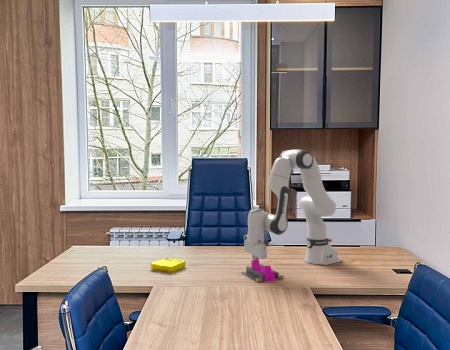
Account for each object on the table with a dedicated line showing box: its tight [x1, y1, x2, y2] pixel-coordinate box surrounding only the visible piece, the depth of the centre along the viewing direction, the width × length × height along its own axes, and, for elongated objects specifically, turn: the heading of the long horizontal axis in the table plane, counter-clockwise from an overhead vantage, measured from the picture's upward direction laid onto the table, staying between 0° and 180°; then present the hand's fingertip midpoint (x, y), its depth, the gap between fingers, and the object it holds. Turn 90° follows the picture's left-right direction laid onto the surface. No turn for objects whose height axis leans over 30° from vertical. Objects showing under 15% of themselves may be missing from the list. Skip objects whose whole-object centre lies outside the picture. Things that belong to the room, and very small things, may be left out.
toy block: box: [250, 259, 276, 283], centre depth 249 cm, size 15×6×8 cm, turn 25°
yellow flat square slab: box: [150, 257, 186, 274], centre depth 266 cm, size 15×15×5 cm
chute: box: [240, 263, 284, 283], centre depth 251 cm, size 16×18×4 cm
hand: (255, 263), depth 258 cm, fingers closed
